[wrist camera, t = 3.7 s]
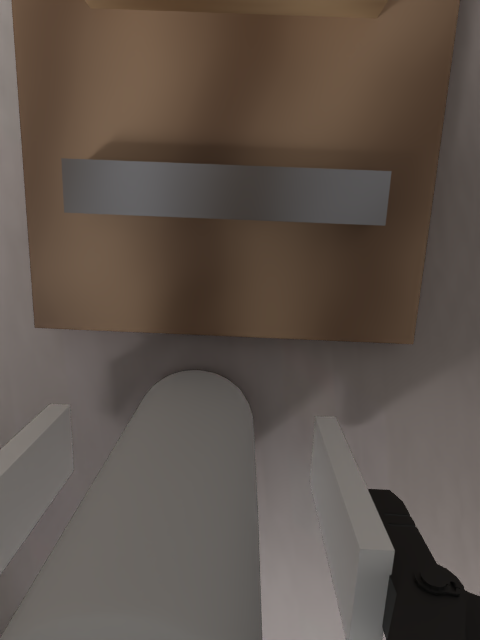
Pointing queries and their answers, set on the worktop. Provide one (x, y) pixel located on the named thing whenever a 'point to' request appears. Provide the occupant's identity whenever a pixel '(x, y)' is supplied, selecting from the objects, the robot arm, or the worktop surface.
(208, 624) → the beverage can
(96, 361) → the worktop surface
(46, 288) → the board
